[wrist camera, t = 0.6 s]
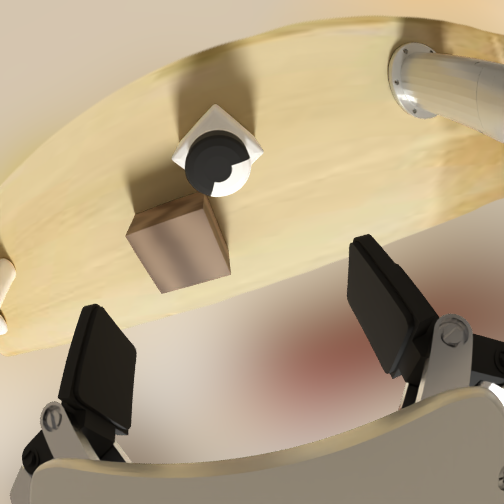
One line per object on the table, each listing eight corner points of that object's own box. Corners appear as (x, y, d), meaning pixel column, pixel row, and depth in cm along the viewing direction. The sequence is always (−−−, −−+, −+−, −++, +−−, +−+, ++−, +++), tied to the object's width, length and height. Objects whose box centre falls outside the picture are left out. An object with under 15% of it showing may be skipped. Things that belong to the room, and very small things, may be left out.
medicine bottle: (178, 143, 32) (161, 175, 23) (215, 102, 30) (214, 113, 20) (219, 175, 36) (221, 219, 26) (256, 137, 33) (274, 166, 24)
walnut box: (204, 188, 37) (203, 208, 32) (228, 249, 43) (230, 274, 39) (135, 213, 38) (125, 235, 33) (166, 268, 44) (161, 293, 39)
